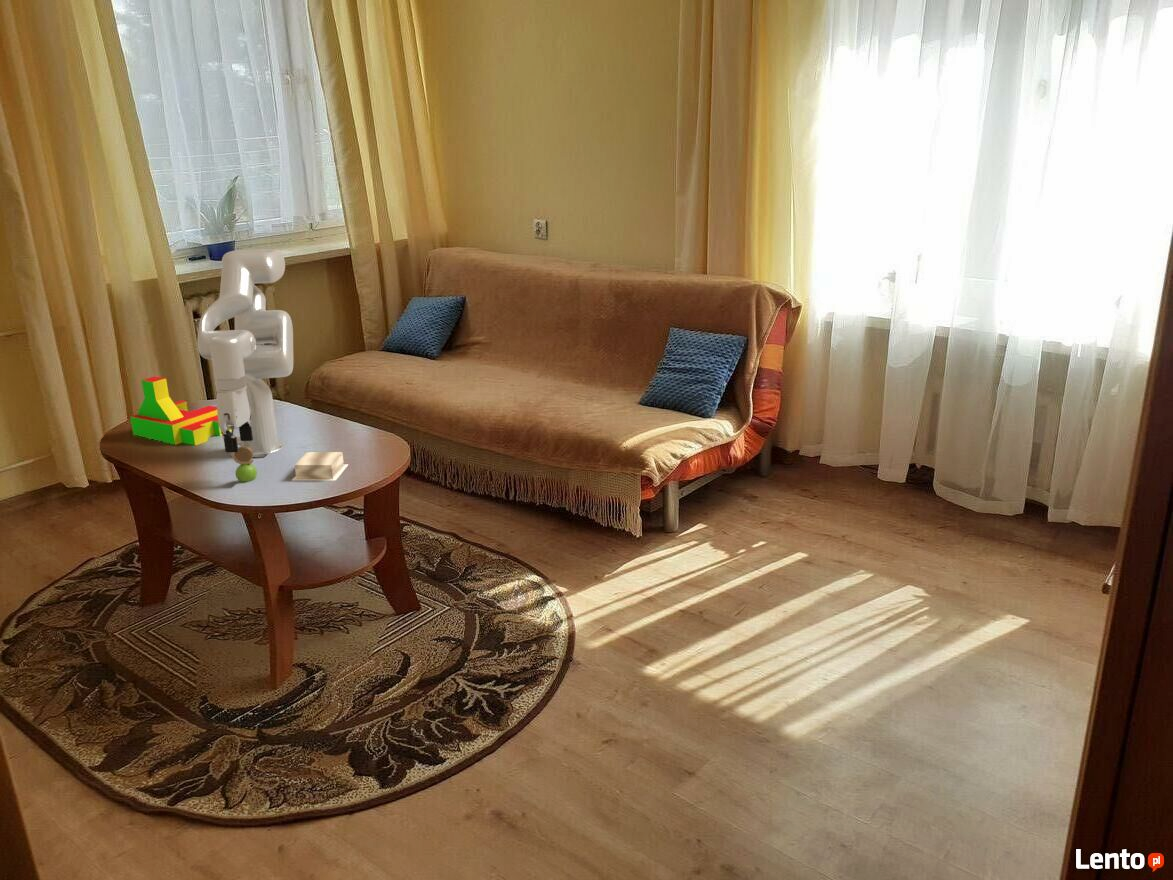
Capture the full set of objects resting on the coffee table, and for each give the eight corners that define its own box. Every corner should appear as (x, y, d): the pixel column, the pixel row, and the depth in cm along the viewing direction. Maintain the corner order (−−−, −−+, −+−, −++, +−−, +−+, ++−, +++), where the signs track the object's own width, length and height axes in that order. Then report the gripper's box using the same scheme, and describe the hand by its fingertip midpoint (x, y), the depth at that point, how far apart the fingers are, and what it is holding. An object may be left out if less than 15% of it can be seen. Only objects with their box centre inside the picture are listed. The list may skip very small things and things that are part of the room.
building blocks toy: (189, 448, 277) (179, 389, 271) (133, 436, 289) (123, 380, 283) (238, 430, 293) (230, 374, 287) (184, 419, 304) (175, 365, 298)
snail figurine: (236, 479, 252) (230, 437, 248) (260, 478, 253) (254, 436, 249) (230, 486, 247) (224, 444, 243) (255, 485, 248) (249, 443, 244)
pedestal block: (296, 478, 249) (294, 465, 248) (308, 465, 258) (306, 452, 257) (332, 479, 249) (331, 465, 247) (343, 465, 258) (342, 452, 257)
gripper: (230, 375, 249) (238, 436, 254) (202, 392, 233) (211, 456, 238) (257, 375, 249) (265, 436, 254) (231, 391, 232) (240, 456, 237)
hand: (239, 446), depth 246 cm, fingers open, 9 cm apart
